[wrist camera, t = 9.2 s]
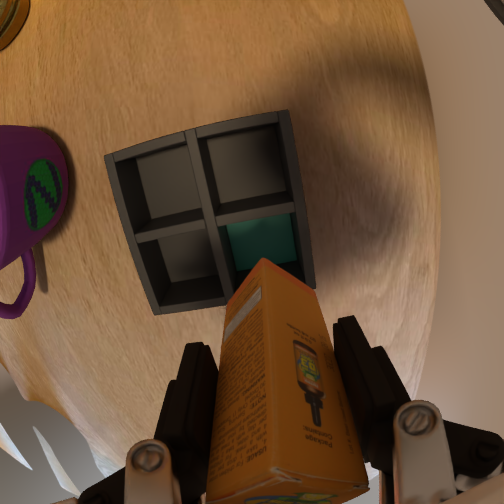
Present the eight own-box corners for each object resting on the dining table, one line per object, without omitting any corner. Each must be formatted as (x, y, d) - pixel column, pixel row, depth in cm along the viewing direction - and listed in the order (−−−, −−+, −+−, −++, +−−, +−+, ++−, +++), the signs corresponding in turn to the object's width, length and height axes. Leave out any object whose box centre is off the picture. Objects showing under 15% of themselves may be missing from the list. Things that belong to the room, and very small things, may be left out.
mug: (1, 127, 19) (-71, 138, 10) (82, 117, 20) (2, 117, 11) (12, 281, 26) (-40, 325, 16) (87, 299, 26) (36, 361, 17)
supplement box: (220, 306, 14) (191, 508, 5) (262, 252, 13) (283, 468, 4) (274, 337, 15) (293, 524, 6) (318, 290, 14) (387, 483, 5)
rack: (280, 115, 21) (288, 109, 16) (305, 262, 25) (316, 289, 20) (130, 151, 21) (103, 156, 17) (168, 286, 26) (154, 315, 21)
